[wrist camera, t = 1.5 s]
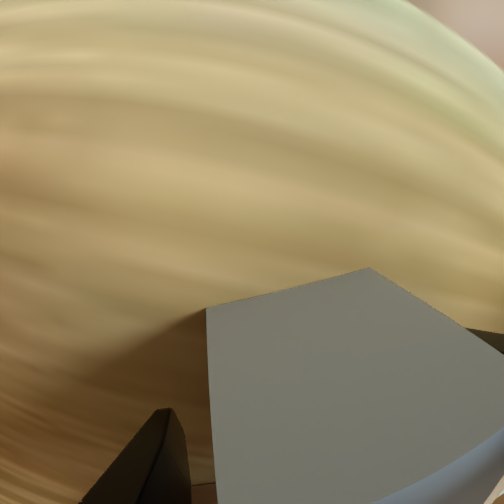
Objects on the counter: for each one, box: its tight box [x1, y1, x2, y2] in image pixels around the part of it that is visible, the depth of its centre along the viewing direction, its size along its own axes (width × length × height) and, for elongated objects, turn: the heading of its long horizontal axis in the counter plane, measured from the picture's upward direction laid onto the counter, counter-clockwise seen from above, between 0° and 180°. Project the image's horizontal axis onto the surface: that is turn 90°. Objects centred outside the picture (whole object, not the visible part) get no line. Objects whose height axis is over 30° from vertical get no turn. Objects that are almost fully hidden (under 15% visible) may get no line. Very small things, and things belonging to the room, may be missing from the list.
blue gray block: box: [206, 268, 504, 504], centre depth 6 cm, size 4×4×6 cm
